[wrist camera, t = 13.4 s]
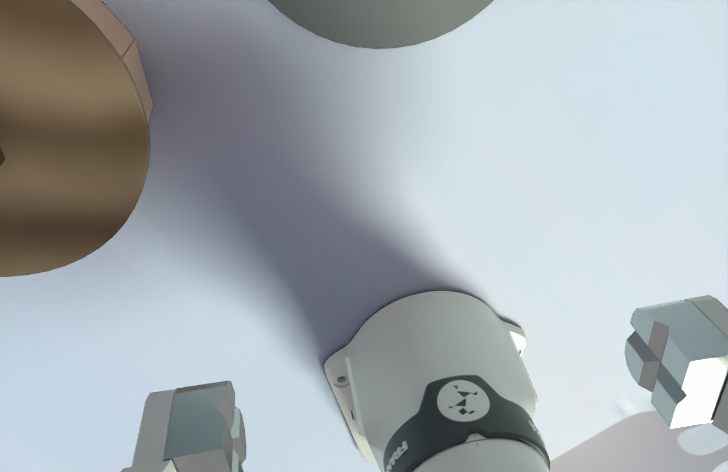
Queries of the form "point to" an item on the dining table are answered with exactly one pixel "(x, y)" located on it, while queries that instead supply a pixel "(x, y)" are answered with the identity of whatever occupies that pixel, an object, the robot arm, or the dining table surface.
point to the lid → (64, 137)
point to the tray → (380, 19)
